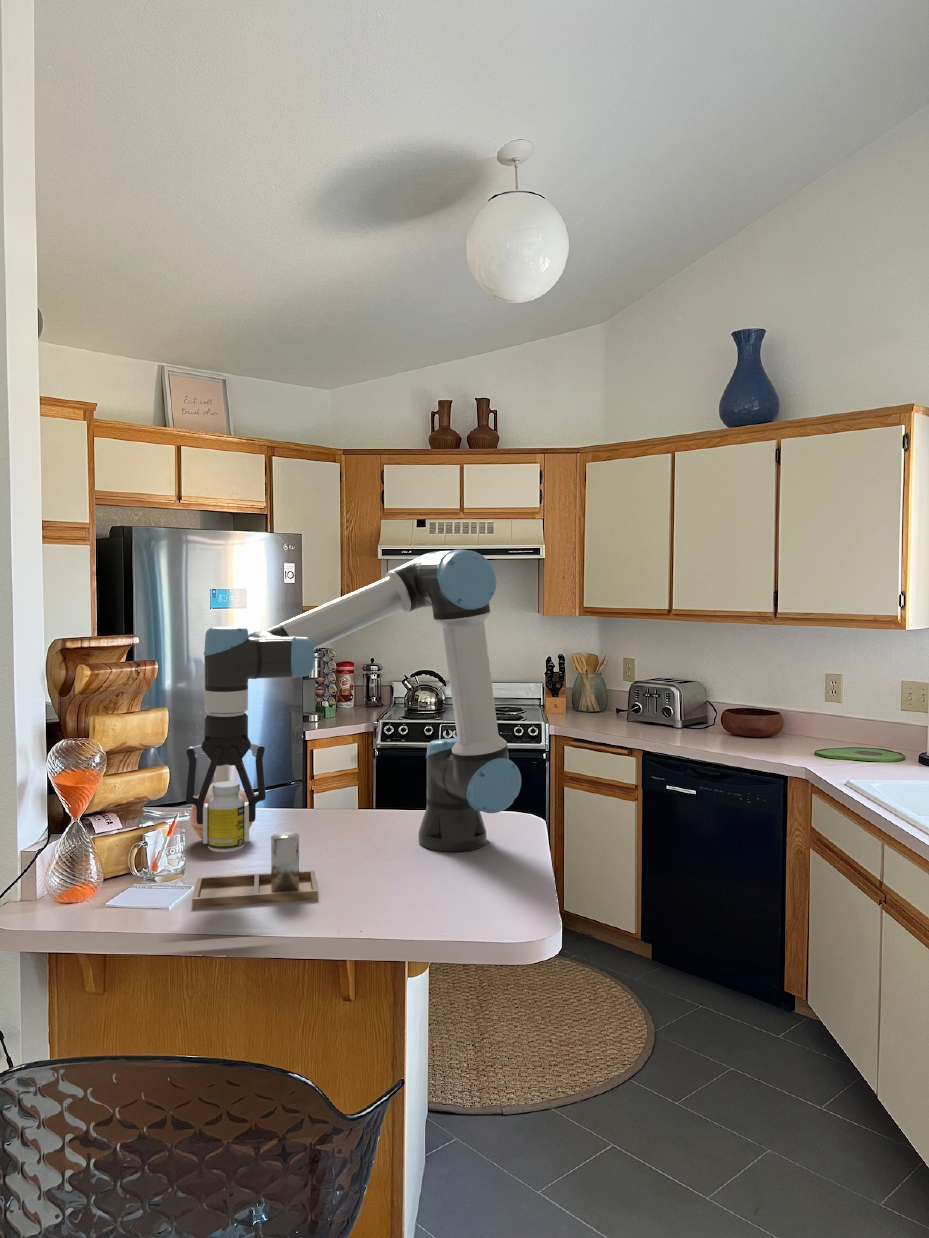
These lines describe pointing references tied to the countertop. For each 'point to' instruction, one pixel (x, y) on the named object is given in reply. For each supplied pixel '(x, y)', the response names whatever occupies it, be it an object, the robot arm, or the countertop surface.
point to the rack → (249, 890)
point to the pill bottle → (226, 818)
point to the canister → (285, 862)
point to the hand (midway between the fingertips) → (226, 840)
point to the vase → (219, 776)
